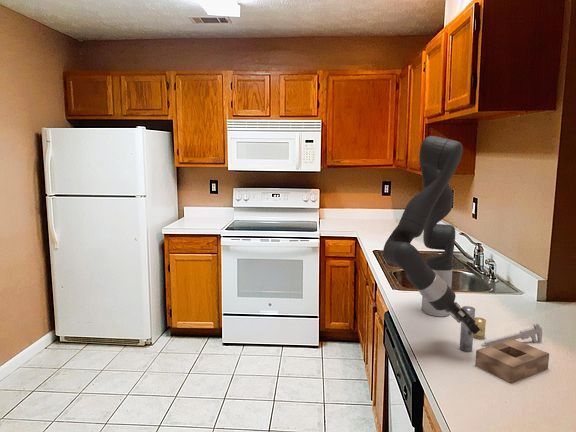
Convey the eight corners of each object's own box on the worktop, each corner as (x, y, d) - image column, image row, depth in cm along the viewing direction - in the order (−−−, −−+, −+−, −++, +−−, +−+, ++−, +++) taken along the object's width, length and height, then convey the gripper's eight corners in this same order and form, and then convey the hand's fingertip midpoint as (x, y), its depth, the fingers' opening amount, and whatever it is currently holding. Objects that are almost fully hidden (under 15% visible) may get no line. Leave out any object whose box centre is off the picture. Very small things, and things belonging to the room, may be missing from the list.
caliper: (538, 341, 138) (540, 322, 137) (541, 343, 137) (543, 324, 136) (480, 345, 135) (482, 326, 134) (482, 347, 134) (484, 328, 133)
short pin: (470, 336, 141) (471, 318, 140) (477, 334, 143) (478, 316, 142) (479, 340, 138) (480, 322, 137) (487, 338, 140) (488, 320, 139)
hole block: (475, 365, 122) (476, 350, 121) (510, 352, 130) (512, 338, 129) (511, 383, 112) (512, 367, 112) (547, 368, 120) (549, 353, 119)
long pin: (456, 348, 132) (459, 307, 130) (464, 345, 134) (467, 305, 132) (466, 352, 129) (469, 311, 127) (474, 350, 131) (477, 309, 129)
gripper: (457, 289, 120) (492, 326, 124) (432, 275, 134) (464, 308, 138) (438, 308, 120) (473, 345, 124) (415, 292, 134) (448, 325, 138)
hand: (468, 325), depth 131 cm, fingers open, 8 cm apart
